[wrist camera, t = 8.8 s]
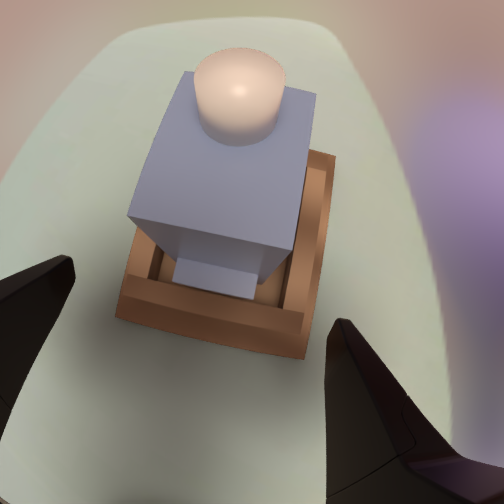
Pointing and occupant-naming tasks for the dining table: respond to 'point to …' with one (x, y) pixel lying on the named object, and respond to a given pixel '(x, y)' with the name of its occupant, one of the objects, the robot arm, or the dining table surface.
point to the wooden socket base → (235, 308)
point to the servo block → (227, 172)
